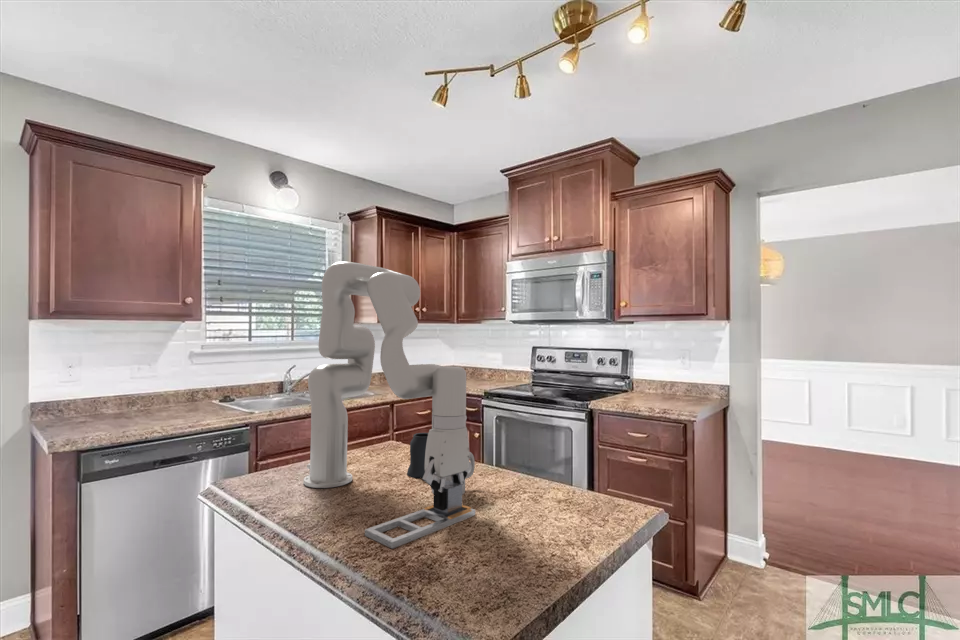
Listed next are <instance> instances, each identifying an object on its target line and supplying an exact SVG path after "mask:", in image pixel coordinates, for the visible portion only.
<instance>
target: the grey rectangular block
mask: <svg viewBox="0 0 960 640" xmlns="http://www.w3.org/2000/svg"><path fill="white" fill-rule="evenodd" d="M443 491H445V492H446V501H445V510H443V511H442V510H439V509H436V508H434V513H437V514H440V515H442V516H445V517H448V516H450V515H453V514H455V513H458V512H461V511H462V505H463V494H462V484H458V483H455V482H451V481H445V485H444V490H443Z"/></svg>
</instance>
